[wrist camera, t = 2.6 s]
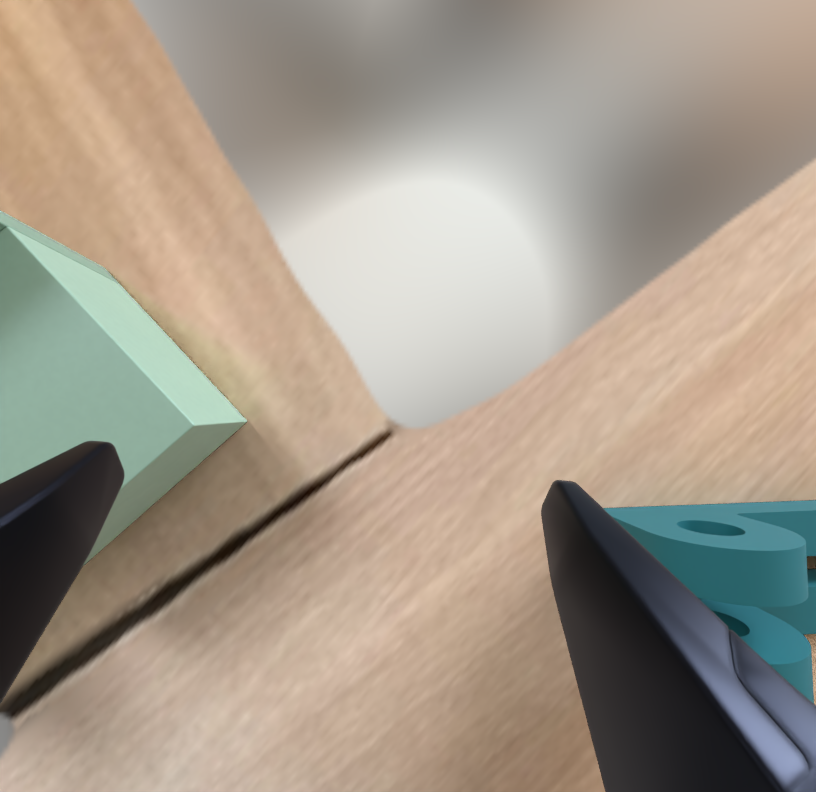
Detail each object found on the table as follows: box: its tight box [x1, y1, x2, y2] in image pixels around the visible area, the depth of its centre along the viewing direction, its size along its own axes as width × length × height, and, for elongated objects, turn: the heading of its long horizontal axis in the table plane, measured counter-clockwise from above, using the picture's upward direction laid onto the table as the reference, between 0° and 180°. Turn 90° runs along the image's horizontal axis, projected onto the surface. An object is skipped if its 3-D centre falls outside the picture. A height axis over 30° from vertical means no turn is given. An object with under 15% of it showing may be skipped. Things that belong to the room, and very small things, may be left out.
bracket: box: [603, 500, 816, 704], centre depth 21 cm, size 18×7×8 cm, turn 91°
